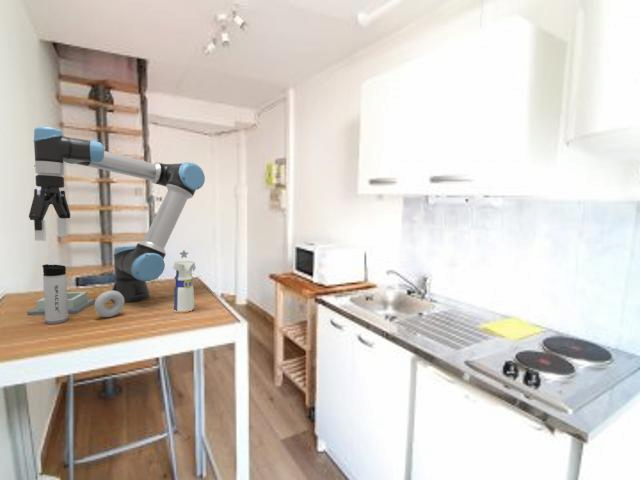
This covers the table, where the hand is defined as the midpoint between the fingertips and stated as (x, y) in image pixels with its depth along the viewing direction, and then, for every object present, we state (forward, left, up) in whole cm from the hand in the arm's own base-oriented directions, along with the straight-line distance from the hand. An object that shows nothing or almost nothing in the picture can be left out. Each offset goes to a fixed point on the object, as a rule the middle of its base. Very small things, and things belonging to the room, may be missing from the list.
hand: (52, 238), depth 116 cm
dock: (+5, -16, -29) cm, 34 cm away
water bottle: (-41, -9, -29) cm, 51 cm away
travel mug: (0, 0, -29) cm, 29 cm away
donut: (-16, -3, -29) cm, 34 cm away
